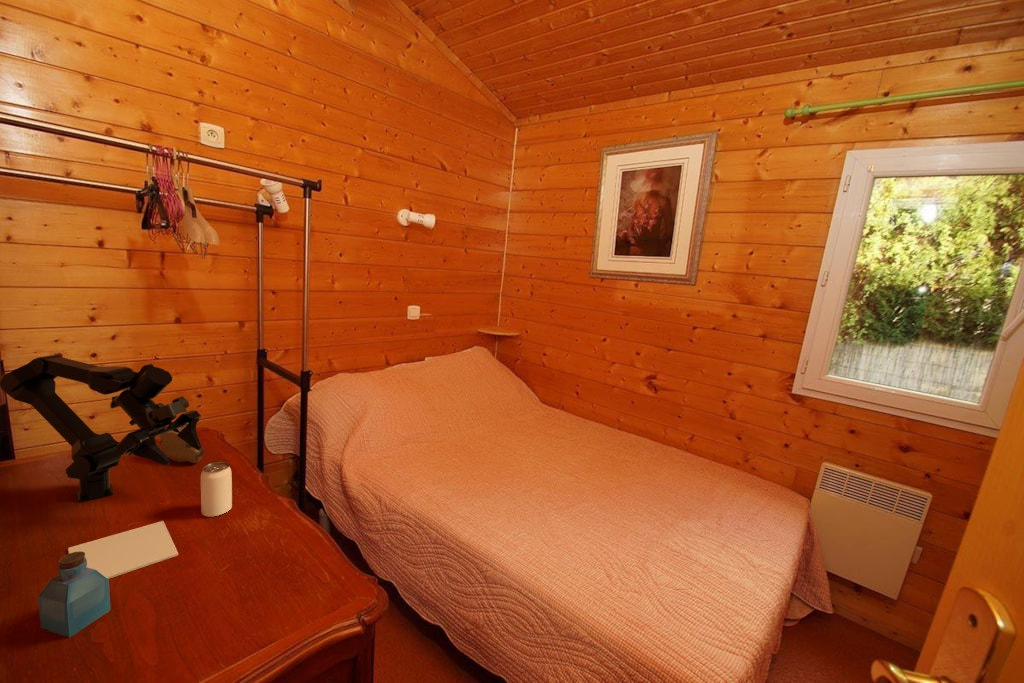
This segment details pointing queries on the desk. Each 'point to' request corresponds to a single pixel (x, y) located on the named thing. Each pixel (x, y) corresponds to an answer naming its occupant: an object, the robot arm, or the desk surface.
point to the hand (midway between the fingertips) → (184, 456)
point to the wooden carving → (179, 448)
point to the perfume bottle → (73, 597)
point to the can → (216, 489)
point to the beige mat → (128, 550)
